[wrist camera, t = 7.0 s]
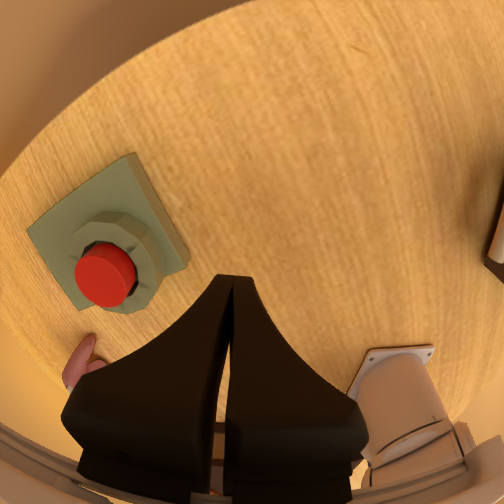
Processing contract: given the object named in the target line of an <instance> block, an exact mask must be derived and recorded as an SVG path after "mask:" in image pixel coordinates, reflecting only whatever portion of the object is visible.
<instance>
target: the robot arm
mask: <svg viewBox="0 0 504 504" xmlns="http://www.w3.org/2000/svg"><path fill="white" fill-rule="evenodd" d="M229 342H230V378H229V388H228V397H227V406H226V415H225V445H224V466H223V496H221V495H211V494H210V484H211V470H212V457H213V444H214V433H215V422H216V411H217V401H218V394H219V388H220V383H221V379H222V374H223V369H224V365H225V360H226V355H227V350H228V346H229ZM434 351H435V347H434V345H428V346H417V347H405V348H389V349H372V350H370V351H369V352H368V353H367V355H366V358H365V360H364V362H363V364H362V366H361V368H360V370H359V372H358V374H357V376H356V378H355V380H354V382H353V384H352V385H351V387H350V389H349V391H348V393H347V395H346V394H344V393H343V392H341V391H340V390H338V389H337V388H335V387H334V386H332V385H331V384H330V383H328V382H327V381H326V380H325V379H323V378H322V377H321V376H320V375H318V374H317V373H316V372H315V371H314V370H313V369H312V368H311V367H310V366H309V365H308V364H307V363H306V362H305V361H304V360H303V359H302V358H301V357H300V356H299V355H298V354H297V353H296V352H295V351H294V350H293V348H292V347H291V346H290V345H289V344H288V342H287V341H286V340H285V339H284V337H283V336H282V335H281V333H280V332H279V330H278V329H277V327H276V326H275V324H274V323H273V321H272V320H271V318H270V316H269V314H268V313H267V311H266V309H265V307H264V305H263V303H262V301H261V299H260V297H259V295H258V292H257V290H256V287H255V284H254V280H253V279H252V277H247V276H234V275H223V274H217V275H216V276H215V277H214V278H213V280H212V281H211V283H210V284H209V285H208V287H207V288H206V289H205V291H204V292H203V293H202V294H201V295H200V297H199V298H198V299H197V300H196V301H195V302H194V304H193V305H192V306H191V307H190V308H189V309H188V310H187V311H186V312H185V313H184V314H183V315H182V316H181V317H180V318H179V319H178V320H177V321H176V322H174V323H173V324H172V325H171V326H170V327H169V328H167V329H166V330H165V331H164V332H162V333H161V334H160V335H159V336H157V337H156V338H154V339H153V340H152V341H150V342H149V343H147V344H146V345H144V346H143V347H141V348H140V349H138V350H136V351H134V352H133V353H131V354H129V355H127V356H125V357H123V358H121V359H119V360H117V361H115V362H113V363H111V364H109V365H106V366H104V367H102V368H99V369H97V370H94V371H92V372H89V373H86V374H83V375H82V376H81V377H80V379H79V380H78V382H77V383H76V385H75V386H74V388H73V390H72V392H71V394H70V396H69V399H68V401H67V403H66V405H65V407H64V409H63V411H62V414H61V421H62V423H63V425H64V427H65V428H66V430H67V431H68V432H69V433H70V435H71V436H72V437H73V438H74V439H75V440H76V441H77V442H78V444H79V445H80V446H81V447H82V448H83V452H82V455H81V458H80V461H79V462H77V461H74V460H72V459H70V458H67V457H65V456H62V455H60V454H58V453H56V452H54V451H51V450H49V449H47V448H45V447H43V446H41V445H39V444H37V443H35V442H33V441H32V440H30V439H28V438H25V437H24V436H22V435H21V434H19V433H17V432H15V431H14V430H12V429H10V428H8V427H7V426H5V425H4V424H2V423H0V499H1V500H3V501H4V502H5V503H6V504H113V503H111V502H110V501H109V500H108V499H107V498H106V497H103V496H101V495H98V494H96V493H94V492H92V491H89V490H87V489H85V488H88V489H90V490H93V491H96V492H98V493H101V494H104V495H107V496H110V497H113V498H116V499H119V500H123V501H126V502H129V503H133V504H495V503H496V502H497V501H499V500H500V499H501V498H503V497H504V444H503V441H502V439H501V436H500V435H497V436H495V437H493V438H491V439H489V440H487V441H485V442H483V443H481V444H479V445H478V446H476V445H475V442H474V440H473V437H472V435H471V433H470V430H469V428H468V426H467V423H464V422H460V421H458V422H456V423H455V424H454V426H453V424H452V423H451V421H450V420H449V418H448V415H447V413H446V411H445V409H444V406H443V404H442V402H441V400H440V397H439V395H438V393H437V391H436V389H435V387H434V385H433V382H432V380H431V378H430V376H429V374H428V372H427V370H426V368H425V366H426V364H427V362H428V361H429V359H430V358H431V356H432V354H433V353H434ZM359 453H361V454H362V456H363V457H364V458H365V459H366V460H367V461H369V462H370V463H371V466H372V467H369V468H368V469H367V470H366V472H365V474H364V477H363V479H362V483H361V489H356V490H351V485H350V479H349V476H351V475H352V473H353V471H352V465H351V461H353V460H354V459H355V458H356V457H357V456H358V454H359ZM79 485H80V486H79ZM81 486H83V487H85V488H83V487H81Z"/></svg>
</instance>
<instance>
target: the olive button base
mask: <svg viewBox="0 0 504 504" xmlns="http://www.w3.org/2000/svg"><path fill="white" fill-rule="evenodd" d="M26 231H27V233H28V235H29V237H30V239H31V240H32V242H33V244H34V246H35V247H36V249H37V251H38V252H39V254H40V256H41V257H42V259H43V260H44V262H45V264H46V265H47V267H48V268H49V270H50V271H51V273H52V274H53V276H54V277H55V279H56V280H57V282H58V283H59V285H60V286H61V288H62V289H63V291H64V292H65V293H66V295H67V296H68V298H69V299H70V300H71V302H72V303H73V304H74V306H75V307H76V308H77V310H78V311H81V310H83V309H86V308H88V307H91V306H93V305H96V304H94V303H92V302H91V301H90V300H88V299H87V298H86V297H85V296H84V295H83V294H82V292H81V291H80V289H79V287H78V286H77V283H76V280H75V267H76V264H77V262H78V261H79V260H80V259H81V258H82V257H83V256H84V255H85V254H86V253H87V252H88V251H89V250H90V249H91V248H92V247H93V246H95V245H97V244H100V243H109V244H113V245H115V246H117V247H119V248H121V249H122V250H123V251H124V252H125V253H126V254H127V255H128V256H129V257H130V259H131V260H132V262H133V264H134V267H135V272H136V279H135V283H134V285H133V286H132V288H131V290H130V291H129V293H128V294H127V296H126V298H125V299H124V301H123V302H122V303H121V304H120V305H118V306H116V307H113V308H105V307H101V306H99V307H101V308H102V309H104V310H106V311H111V312H116V313H122V314H130V313H133V312H136V311H139V310H142V309H144V308H146V307H147V306H148V304H149V303H150V301H151V300H152V298H153V296H154V295H155V293H156V292H157V290H158V288H159V286H160V284H161V282H162V280H163V278H164V277H165V276H168V275H170V274H173V273H176V272H178V271H181V270H183V269H186V267H187V265H188V263H189V260H190V258H191V255H190V253H189V251H188V250H187V248H186V246H185V244H184V243H183V241H182V239H181V237H180V236H179V234H178V232H177V230H176V229H175V227H174V225H173V223H172V221H171V220H170V218H169V216H168V214H167V212H166V210H165V209H164V207H163V205H162V203H161V201H160V199H159V198H158V196H157V194H156V192H155V190H154V188H153V186H152V184H151V182H150V181H149V179H148V177H147V175H146V173H145V171H144V169H143V167H142V165H141V163H140V161H139V159H138V157H137V155H136V153H135V152H133V153H131V154H128V155H125V156H123V157H122V158H120V159H118V160H117V161H115V162H114V163H112V164H111V165H109V166H108V167H106V168H105V169H103V170H102V171H100V172H99V173H97V174H96V175H95V176H93V177H92V178H90V179H89V180H88V181H86V182H85V183H83V184H82V185H81V186H79V187H78V188H77V189H75V190H74V191H73V192H71V193H70V194H69V195H67V196H66V197H65V198H64V199H62V200H61V201H60V202H58V203H57V204H56V205H55V206H53V207H52V208H51V209H50V210H49V211H47V212H46V213H45V214H44V215H43V216H41V217H40V218H39V219H38V220H37V221H36V222H34V223H33V224H32V225H31V226H30V227H29V228H28V229H27V230H26Z"/></svg>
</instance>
